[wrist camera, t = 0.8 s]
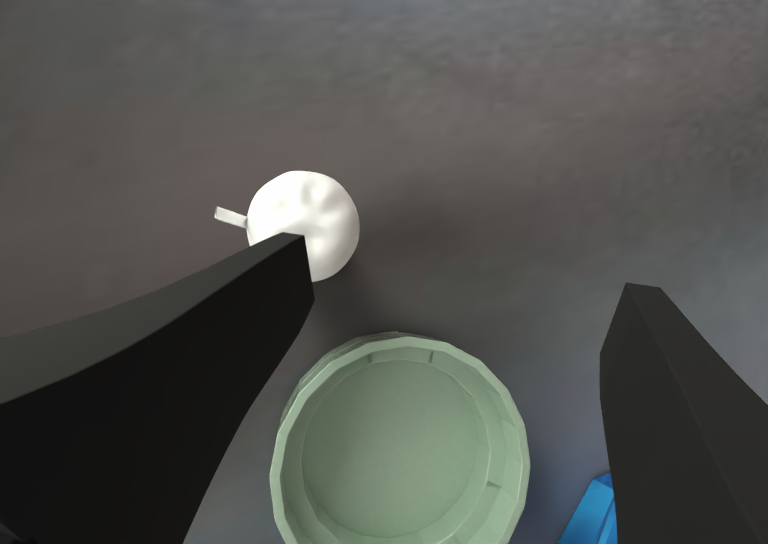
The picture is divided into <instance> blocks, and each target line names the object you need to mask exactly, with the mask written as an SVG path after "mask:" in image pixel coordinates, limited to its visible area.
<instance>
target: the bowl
mask: <svg viewBox="0 0 768 544" xmlns="http://www.w3.org/2000/svg"><path fill="white" fill-rule="evenodd" d="M530 464H531V463H530V456H529V449H528V442H527V435H526V429H525V424H524V422H523V420H522V418H521V416H520V413H519V411H518V409H517V407H516V405H515V403H514V401H513V399H512V397H511V394H510V392H509V390H508V389H507V388H506V387H505V385H504V384H503V383H502V382H501V381H500V380H499V379H498V378H497V377H496V376H495V375H494V374H493V373H492V372H491V371H490V370H489V368H488V367H487V366H486V365H485V364H484V363H483V362H481V360H479V359H477V358H475V357H473V356H471V355H469V354H468V353H466V352H464V351H462V350H460V349H458V348H456V347H454V346H453V345H451V344H449V343H446V342H443V341H440V340H437V339H434V338H431V337H428V336H423V335H417V334H411V333H405V332H399V331H389V332H383V333H376V334H370V335H364V336H360V337H357V338H355V339H353V340H351V341H349V342H347V343H345V344H343V345H341V346H339V347H337V348H335V349H333V350H331V351H329V352H328V353H327V354H325V355H324V356H323V357H322V358H321V359H320V360H319V361H318V362H317V363H316V364H315V365H314V366H313V367H312V368H311V369H310V370H309V371H308V372H307V373H306V374H305V375H304V376H303V377H302V378H301V379H300V380H299V382H298V384H297V386H296V388H295V390H294V391H293V393H292V395H291V397H290V399H289V401H288V403H287V405H286V406H285V408H284V410H283V413H282V416H281V420H280V425H279V429H278V434H277V439H276V444H275V449H274V454H273V460H272V465H271V470H270V476H269V477H270V478H269V480H270V488H271V496H272V504H273V512H274V519H275V523H276V525H277V527H278V529H279V531H280V533H281V535H282V538H283V540H284V542H285V544H507V543H509V541H510V539H511V536H512V534H513V532H514V530H515V527H516V525H517V523H518V521H519V518H520V516H521V514H522V512H523V509H524V507H525V506H524V505H525V503H526V496H527V489H528V482H529V475H530V467H531V465H530Z"/></svg>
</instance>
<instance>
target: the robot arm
mask: <svg viewBox="0 0 768 544" xmlns="http://www.w3.org/2000/svg"><path fill="white" fill-rule="evenodd" d="M314 301H315V298H314V291H313V285H312V279H311V273H310V267H309V261H308V254H307V248H306V242H305V236H304V235H299V234H292V233H285V232H281V233H279V234H276V235H274V236H271V237H269V238H267V239H265V240H262V241H260V242H258V243H256V244H254V245H252V246H250V247H248V248H246V249H244V250H242V251H240V252H238V253H236V254H234V255H232V256H230V257H228V258H226V259H224V260H222V261H220V262H218V263H215V264H213V265H211V266H209V267H207V268H205V269H203V270H201V271H199V272H196V273H194V274H192V275H190V276H188V277H185V278H183V279H181V280H179V281H177V282H174V283H172V284H170V285H168V286H165V287H163V288H161V289H158V290H156V291H154V292H151V293H148V294H146V295H143V296H141V297H138V298H135V299H133V300H130V301H127V302H124V303H122V304H119V305H116V306H113V307H110V308H107V309H104V310H101V311H98V312H95V313H91V314H88V315H85V316H81V317H78V318H75V319H71V320H68V321H65V322H61V323H58V324H55V325H51V326H47V327H43V328H39V329H35V330H32V331H28V332H24V333H19V334H15V335H11V336H6V337H2V338H0V544H183V542H184V539H185V537H186V535H187V533H188V530H189V528H190V526H191V524H192V521H193V519H194V517H195V515H196V513H197V510H198V508H199V506H200V504H201V501H202V499H203V497H204V495H205V493H206V491H207V489H208V487H209V485H210V482H211V480H212V478H213V476H214V474H215V472H216V470H217V468H218V466H219V464H220V462H221V460H222V458H223V456H224V454H225V452H226V450H227V448H228V446H229V445H230V443H231V441H232V439H233V437H234V435H235V433H236V431H237V429H238V427H239V426H240V424H241V422H242V420H243V418H244V417H245V415H246V413H247V412H248V410H249V408H250V407H251V405H252V403H253V402H254V400H255V399H256V397H257V396H258V394H259V393H260V391H261V390H262V388H263V387H264V385H265V384H266V382H267V381H268V379H269V378H270V376H271V375H272V373H273V372H274V371H275V369H276V368H277V366H278V365H279V363H280V362H281V360H282V359H283V357H284V356H285V354H286V352H287V351H288V349H289V348H290V346H291V345H292V343H293V342H294V340H295V339H296V337H297V336H298V334H299V332H300V330H301V328H302V326H303V324H304V322H305V320H306V318H307V316H308V314H309V312H310V309H311V307H312V305H313V303H314ZM600 401H601V409H602V416H603V423H604V431H605V438H606V445H607V452H608V459H609V466H610V473H611V480H612V487H613V494H614V501H615V512H616V522H617V544H768V405H767V404H766V403H765V402H764V401H763V400H762V399H761V398H760V397H759V396H758V395H757V394H756V393H755V392H754V391H753V390H752V389H751V388H750V387H749V386H748V385H747V384H746V383H745V382H744V381H743V380H742V379H741V378H740V377H739V376H738V375H737V374H736V373H735V372H734V371H733V370H732V369H731V368H730V366H729V365H728V364H727V363H726V362H725V361H724V360H723V359H722V358H721V357H720V356H719V355H718V353H717V352H716V351H715V350H714V349H713V348H712V347H711V346H710V345H709V343H708V342H707V341H706V340H705V339H704V338H703V337H702V336H701V334H700V333H699V332H698V331H697V330H696V329H695V327H694V326H693V325H692V324H691V323H690V322H689V321H688V319H687V318H686V317H685V316H684V315H683V314H682V312H681V311H680V310H679V309H678V308H677V307H676V305H675V304H674V303H673V302H672V301H671V300H670V298H669V297H668V296H667V295H666V294H665V293H664V292H663V291H662V289H661V288H660V287H653V286H646V285H639V284H632V283H626V284H625V287H624V289H623V292H622V295H621V298H620V300H619V303H618V306H617V308H616V311H615V314H614V317H613V319H612V322H611V325H610V328H609V330H608V333H607V336H606V339H605V341H604V344H603V347H602V349H601V352H600Z"/></svg>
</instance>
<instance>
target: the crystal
mask: <svg viewBox="0 0 768 544" xmlns="http://www.w3.org/2000/svg"><path fill="white" fill-rule="evenodd" d="M557 544H617V522H616V512H615V501H614V494H613V487H612V480H611V473H609V474H606V475H603V476H600V477H597V478H594V479H593V480H592V482H591V484H590V486H589V487H588V489H587V491H586V493H585V495H584V496H583V498H582V500H581V502H580V504H579V505H578V507H577V509H576V511H575V513H574V514H573V516H572V518H571V520H570V522H569V523H568V525H567V527H566V529H565V531H564V532H563V534H562V536H561V538H560V540H559V541H558V543H557Z"/></svg>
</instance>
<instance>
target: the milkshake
mask: <svg viewBox="0 0 768 544" xmlns="http://www.w3.org/2000/svg"><path fill="white" fill-rule="evenodd" d="M215 219H217V220H220V221H223V222H227V223H230V224H233V225H236V226H239V227H243V228H246V229H247V236H248V241H249V244H250V246H252V245H254V244H256V243H258V242H260V241H262V240H265V239H267V238H269V237H271V236H274V235H276V234H279V233H281V232H285V233H292V234H299V235H304V236H305V242H306V248H307V254H308V261H309V267H310V273H311V279H312V282H315V281H320V280H323V279H326V278H328V277H330V276H332V275H334V274H336V273H337V272H338V271H339V270H340V269H341V268H342V267H343V266H344V265H345V264H346V263H347V262H348V260H349V259H350V258H351V256H352V255H353V253H354V251H355V249H356V247H357V244H358V239H359V230H360V226H359V217H358V213H357V210H356V207H355V205H354V203H353V201H352V199H351V198H350V196H349V194H348V193H347V192H346V190H345V189H344V188H343V187H342V186H341V185H340V184H339V183H338V182H336V181H335V180H333V179H332V178H330V177H328V176H326V175H323V174H319V173H315V172H307V171H291V172H287V173H284V174H282V175H280V176H278V177H277V178H275V179H273V180H272V181H270V182H268V183H267V184H266V185H264V186H263V187H262V188H261V189H260V190H259V191H258V192H257V194H256V195H255V197H254V198H253V200H252V202H251V205H250V208H249V211H248V216H247V217H246V216H243V215H240V214H238V213H235V212H232V211H229V210H226V209H224V208H221V207H218V206H216V208H215Z"/></svg>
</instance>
